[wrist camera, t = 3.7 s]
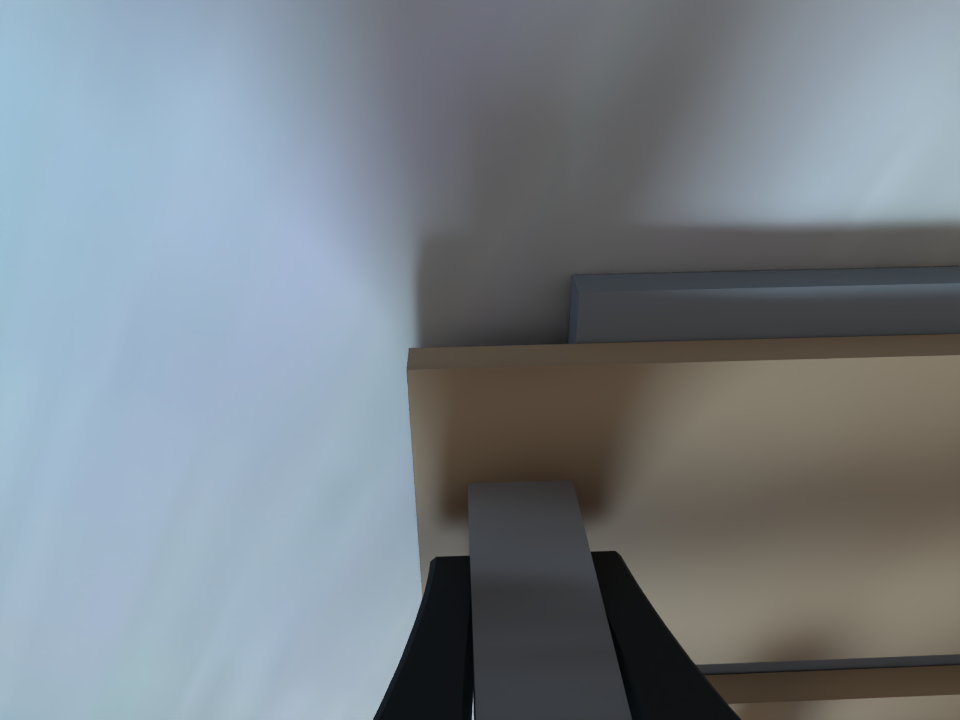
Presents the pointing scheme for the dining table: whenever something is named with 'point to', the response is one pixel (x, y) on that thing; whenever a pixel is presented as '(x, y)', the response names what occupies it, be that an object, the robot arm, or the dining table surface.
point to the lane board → (770, 315)
